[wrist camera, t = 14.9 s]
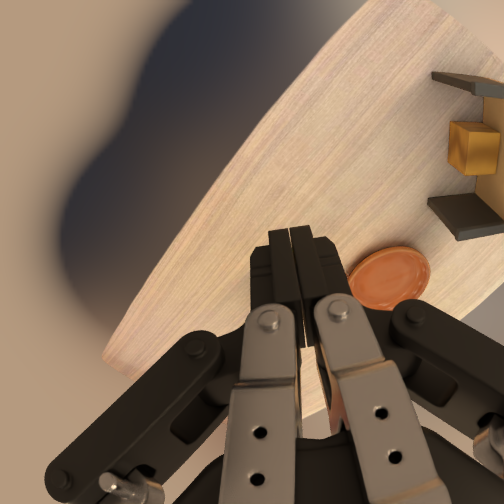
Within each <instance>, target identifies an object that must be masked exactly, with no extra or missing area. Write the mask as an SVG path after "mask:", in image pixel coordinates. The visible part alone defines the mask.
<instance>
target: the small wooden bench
mask: <svg viewBox="0 0 504 504" xmlns="http://www.w3.org/2000/svg"><path fill="white" fill-rule="evenodd" d="M432 80H435V81H438V82H442V83H445V84H448V85H451V86H454V87H457V88H460V89H463V90H466V91H469V92H471V94H472V95H475V96H483V97H484V106H483V124H485V125H487V126H489V127H491V128H492V129H494V130H496V131H498V132H500V133H501V136H500V146H499V154H498V161H497V168H496V174H488V175H477V182H476V188H475V193H469V194H460V195H451V196H442V197H433V198H428V202H427V205H428V206H429V207H430V208H431V209H432V210H433V212H434V213H435V214H436V215H437V216H438V217H439V218H440V220H441V221H442V222H443V223H444V224H445V226H446V227H447V228H448V229H449V230H450V232H451V233H452V234H453V235H454V236H455V239H456V240H457V241H463V240H468V239H474V238H479V237H484V236H489V235H494V234H500V233H504V83H502V82H499V81H496V80H493V79H490V78H485V77H478V76H471V75H463V74H455V73H445V72H432Z"/></svg>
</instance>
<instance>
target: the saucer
mask: <svg viewBox="0 0 504 504" xmlns="http://www.w3.org/2000/svg"><path fill="white" fill-rule="evenodd" d="M429 278H430V266H429V263H428V261H427V260H426V258H425V257H424V256H423V255H422V254H421V253H420V252H419V251H417V250H415V249H413V248H410V247H402V246H399V247H390V248H386V249H383V250H380V251H377V252H375V253H373V254H372V255H370V256H368V257H367V258H365V259H364V260H363V261H362V262H361V263H360V264H359V265H357V267H356V268H355V269H354V270H353V271H352V273H351V274H350V276H349V278H348V283H349V286H350V289H351V292H352V294H353V296H354V298H356V299H357V300H358V301H359V302H360V303H361V304H362V305H363V306H365V307H368V308H371V309H376V310H388V311H393V308H394V307H395V306H396V305H397V304H398V303H399V302H401V301H403V300H407V299H418V298H419V297H420V295H421V294H422V293H423V292H424V290H425V288H426V286H427V284H428V282H429Z"/></svg>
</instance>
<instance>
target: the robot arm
mask: <svg viewBox="0 0 504 504" xmlns="http://www.w3.org/2000/svg"><path fill="white" fill-rule="evenodd" d="M289 229H290V237H291V242H290V237H289V232H288V228H285V229H279V230H272V231H268V236H269V245H266V246H259V247H255V249H254V251H253V253H252V254H251V256H250V277H251V278H250V295H251V310H250V313H249V315H248V316H247V318H246V320H245V323H244V324H243V325H242V326H241V327H240V328H238V329H236V330H235V331H232V332H230V333H228V334H225V335H223V336H220V337H217V336H216V335H215V334H213V333H211V332H209V331H204V330H199V331H193V332H190V333H188V334H186V335H184V336H183V337H182V338H181V339H179V340H178V341H177V342H176V343H175V344H174V345H173V346H172V347H171V348H170V349H169V350H168V351H167V352H166V353H165V354H164V355H163V356H162V357H161V358H160V359H159V360H158V361H157V362H156V363H155V364H154V365H153V366H152V367H151V368H150V369H148V370H147V371H146V372H145V373H144V374H143V375H142V376H141V377H140V378H139V379H138V380H137V381H136V382H135V383H134V384H133V385H132V386H131V387H130V388H129V389H128V390H127V391H126V392H125V393H124V394H123V395H121V397H119V398H118V399H117V400H116V401H115V402H114V403H113V404H112V405H111V406H110V407H109V408H108V409H107V410H106V411H105V412H104V413H103V414H102V415H101V416H100V417H98V418H97V419H96V420H95V421H94V422H93V423H92V424H91V425H90V426H89V427H88V428H87V429H86V430H85V431H84V432H83V433H82V434H81V435H80V436H78V437H77V438H76V439H75V441H73V442H72V443H71V444H70V445H69V446H68V447H67V448H66V449H65V450H64V451H63V452H61V454H59V455H58V456H57V457H56V458H55V459H54V460H53V461H52V462H51V463H50V464H49V466H48V467H47V469H46V472H45V479H44V480H45V486H46V489H47V491H48V493H49V494H50V496H51V497H52V498H53V499H55V500H56V501H58V502H61V503H64V504H164V501H165V494H164V490H163V488H162V485H163V484H164V483H165V482H166V481H167V480H168V479H169V478H170V477H171V476H172V475H173V474H174V473H175V472H176V471H177V470H178V469H179V468H180V467H181V466H182V465H183V464H184V463H185V461H186V460H187V459H188V458H189V457H190V456H191V455H192V454H193V453H194V452H195V451H196V450H197V449H198V448H199V447H200V446H201V445H202V444H203V443H204V441H205V440H206V439H207V438H208V437H209V436H210V435H211V434H212V432H214V430H215V429H216V428H217V427H218V426H219V425H220V424H221V423H222V422H223V420H224V419H225V418H226V417H227V416H228V423H227V432H226V441H225V450H224V454H223V455H221V456H219V457H218V458H216V459H215V460H213V461H212V462H211V463H210V464H209V465H207V466H206V467H205V468H204V469H203V470H202V472H201V473H200V474H199V475H198V476H197V477H196V478H195V479H194V481H193V482H192V483H191V484H190V485H189V486H188V487H187V488H186V490H185V491H184V492H183V493H182V494H181V495H180V496H179V497H178V498H177V499H176V500H175V501H174V502H173V503H172V504H504V346H503V345H501V344H499V343H497V342H496V341H494V340H492V339H491V338H489V337H487V336H485V335H484V334H482V333H480V332H478V331H476V330H475V329H473V328H471V327H469V326H468V325H466V324H464V323H462V322H461V321H459V320H457V319H455V318H454V317H452V316H450V315H448V314H446V313H445V312H443V311H441V310H439V309H437V308H436V307H434V306H432V305H430V304H428V303H426V302H424V301H422V300H418V299H407V300H403V301H401V302H399V303H398V304H397V305H396V306H395V307H394V308H393V311H388V310H376V309H371V308H368V307H365V306H363V305H362V304H361V303H360V302H359V301H358V300H357V299H356V298H354V296H353V294H352V292H351V289H350V286H349V283H348V280H347V277H346V274H345V272H344V269H343V266H342V264H341V260H340V258H339V256H338V252H337V250H336V247H335V244H334V243H333V242H332V241H330V240H329V239H328V238H327V237H326V236H324V237H318V238H313V235H312V232H311V229H310V226H309V225H305V226H298V227H291V228H289ZM291 245H292V247H291ZM303 321H304V324H303ZM304 327H305V334H306V340H307V346H308V347H311V346H314V347H315V353H316V366H317V370H318V374H319V378H320V382H321V386H322V390H323V394H324V398H325V402H326V406H327V411H328V415H329V422H330V430H331V435H332V436H330V437H328V438H325V439H320V440H319V439H307V438H303V434H302V404H301V370H300V367H301V364H302V359H301V350H300V348H305V347H306V346H305V335H304ZM411 400H412V401H414V402H416V403H417V404H418V405H420V406H422V407H423V408H424V409H426V410H427V411H429V412H431V413H432V414H433V415H435V416H437V417H438V418H440V419H441V420H443V421H444V422H446V423H447V424H449V425H451V426H452V427H454V428H455V429H457V430H458V431H460V432H461V433H463V434H464V435H466V436H468V437H469V438H471V439H472V440H474V442H473V454H474V457H475V458H476V459H477V460H478V461H479V462H480V463H482V464H483V465H481V464H480V463H479V462H477V461H476V460H474V459H473V458H471V457H470V456H468V455H467V454H466V453H464V452H463V451H461V450H460V449H458V448H457V447H456V446H454V445H453V444H451V443H450V442H449V441H447V440H446V439H444V438H443V437H442V436H440V435H439V434H437V433H436V432H434V431H432V430H430V429H428V428H426V427H423V426H421V425H420V423H419V420H418V417H417V414H416V412H415V409H414V407H413V404H412V401H411Z"/></svg>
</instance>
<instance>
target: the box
mask: <svg viewBox="0 0 504 504" xmlns="http://www.w3.org/2000/svg"><path fill="white" fill-rule="evenodd" d="M500 136H501V133H500V132H498V131H496V130H494V129H492V128H491V127H489V126H487V125H485V124H483V123H480V122H455V121H450V135H449V151H448V163H449V164H451V165H452V166H453V167H455V168H456V169H457V170H458V171H460V172H461V173H462V174H463V175H465V176H470V175H488V174H496V168H497V161H498V154H499V146H500Z"/></svg>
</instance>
